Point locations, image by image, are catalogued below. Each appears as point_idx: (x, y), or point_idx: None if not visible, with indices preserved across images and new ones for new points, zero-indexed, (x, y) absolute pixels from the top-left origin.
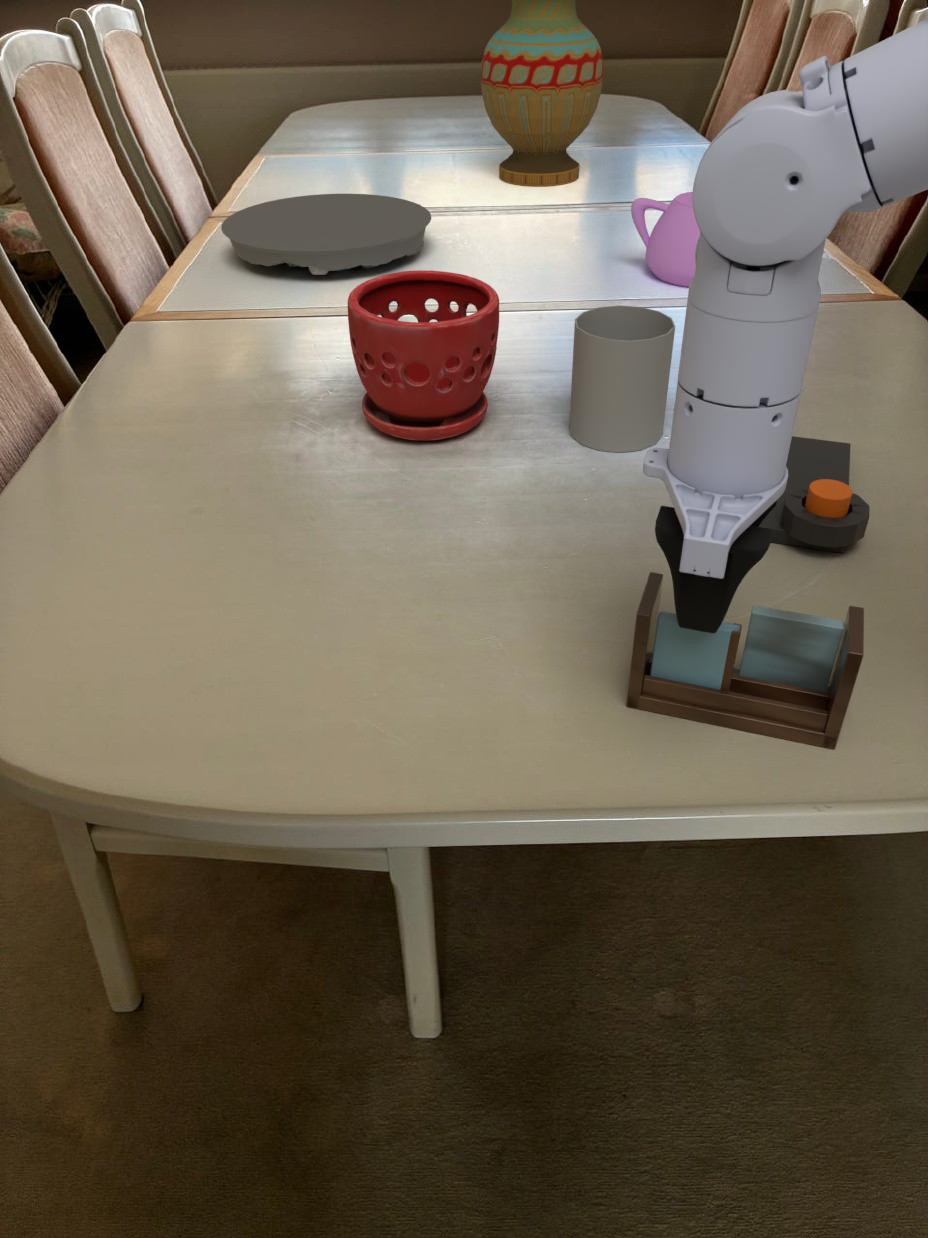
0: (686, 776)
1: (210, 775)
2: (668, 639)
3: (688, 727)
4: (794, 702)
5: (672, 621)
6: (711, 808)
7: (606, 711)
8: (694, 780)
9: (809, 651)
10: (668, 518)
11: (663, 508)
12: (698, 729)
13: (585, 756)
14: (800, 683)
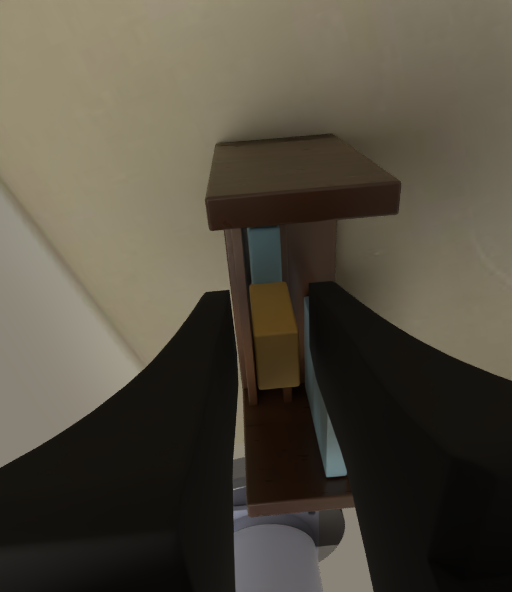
0: (120, 259)
1: None
2: (248, 238)
3: (212, 240)
4: None
5: (251, 260)
6: (85, 295)
7: (192, 114)
8: (118, 269)
9: (316, 410)
10: (46, 589)
11: (146, 551)
12: (214, 253)
13: (76, 113)
14: (306, 369)
